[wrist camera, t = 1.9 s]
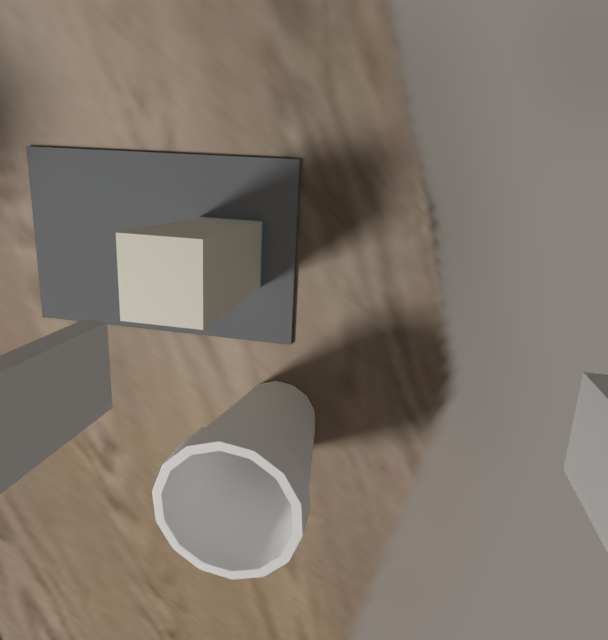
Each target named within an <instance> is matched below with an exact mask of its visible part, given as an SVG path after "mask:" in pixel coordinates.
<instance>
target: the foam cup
mask: <svg viewBox="0 0 608 640" xmlns="http://www.w3.org/2000/svg"><path fill="white" fill-rule="evenodd" d="M314 434H315V410H314V408H313V406H312V405H311V403H310V401H309V399H308V397H307V396H306V395H305V394H304V393H303V392H301V391H300V390H299V389H297V388H296V387H295V386H294V385H291V384H287V383H283V382H279V381H273V382H267V383H262V384H259V385H258V386H257V387H255V388H254V389H253V390H251V391H250V392H249V393H248V394H246V395H245V396H244V397H242V398H241V399H240V400H239V401H238V402H236V403H235V404H234V405H233V406H231V407H230V408H229V409H228V410H226V411H225V412H224V413H223V414H222V415H220V416H219V417H218V418H217V419H215V420H214V421H213V422H212V423H210V424H209V425H208V426H207V427H203V428H201V429H199V430H198V431H197V432H195V433H194V434H193V435H191V436H190V437H189V438H188V439H186V440H185V441H184V442H182V443H181V444H180V445H179V446H178V447H177V448H176V449H175V450H174V452H173V453H172V454H171V455H170V456H169V457H168V459H167V460H166V461H165V462H164V463H163V465H162V467H161V470H160V472H159V475H158V477H157V480H156V482H155V485H154V487H153V490H152V495H153V503H154V511H155V518H156V522H157V524H158V525H159V527H160V529H161V530H162V532H163V534H164V535H165V537H166V538H167V540H168V542H169V543H170V545H171V546H172V548H173V549H174V550H175V551H176V552H178V553H179V554H180V555H182V556H183V557H184V558H186V559H187V560H188V561H189V562H191V563H192V564H193V565H195V566H196V567H197V568H199V569H200V570H203V571H206V572H210V573H213V574H216V575H219V576H222V577H226V578H229V579H244V578H256V577H264V576H266V575H267V574H269V573H271V572H272V571H274V570H276V569H278V568H279V567H281V566H283V565H284V564H286V563H288V562H289V560H290V559H291V557H292V555H293V553H294V551H295V549H296V547H297V546H298V544H299V542H300V540H301V538H302V536H303V533H304V530H305V526H306V523H307V520H308V516H309V513H310V499H309V485H310V474H311V464H312V454H313V444H314Z"/></svg>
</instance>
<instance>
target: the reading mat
mask: <svg viewBox="0 0 608 640" xmlns="http://www.w3.org/2000/svg"><path fill="white" fill-rule="evenodd" d="M26 147H27V157H28V167H29V178H30V188H31V199H32V209H33V219H34V230H35V240H36V251H37V261H38V272H39V282H40V292H41V303H42V313H43V317H48V318H57V319H66V320H75V321H82V320H91V321H100V322H107V324H111V325H120V326H129V327H138V328H146V329H155V330H164V331H173V332H182V333H191V334H200V335H209V336H218V337H227V338H236V339H245V340H254V341H262V342H271V343H280V344H289V345H291V344H292V329H293V307H294V285H295V264H296V242H297V220H298V198H299V176H300V159H280V158H260V157H239V156H218V155H197V154H176V153H155V152H135V151H114V150H93V149H72V148H51V147H31V146H26ZM200 216H202V217H216V218H230V219H244V220H259V221H264V233H263V269H262V287H260V288H259V289H258V290H256V291H255V292H254V293H252V294H251V295H250V296H248V297H247V298H246V299H244V300H243V301H242V302H240V303H239V304H238V305H236V306H235V307H234V308H232V309H231V310H230V311H228V312H227V313H225V314H224V315H223V316H221V317H220V318H219V319H217V320H216V321H215V322H213V323H212V324H211V325H209V326H208V327H207V328H205V329H204V330H198V329H189V328H180V327H171V326H162V325H153V324H144V323H135V322H126V321H120V307H119V288H118V268H117V249H116V232H121V231H126V230H132V229H137V228H142V227H147V226H153V225H158V224H163V223H169V222H174V221H179V220H184V219H190V218H195V217H200Z"/></svg>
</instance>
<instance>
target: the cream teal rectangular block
mask: <svg viewBox="0 0 608 640" xmlns="http://www.w3.org/2000/svg"><path fill="white" fill-rule="evenodd" d="M263 233H264V221H259V220H244V219H230V218H216V217H202V216H200V217H195V218H190V219H184V220H179V221H174V222H169V223H163V224H158V225H153V226H147V227H142V228H137V229H132V230H126V231H121V232H116V249H117V268H118V288H119V307H120V321H126V322H135V323H144V324H153V325H162V326H171V327H180V328H189V329H198V330H204V329H205V328H207V327H208V326H209V325H211V324H212V323H213V322H215V321H216V320H217V319H219V318H220V317H221V316H223V315H224V314H225V313H227V312H228V311H230V310H231V309H232V308H234V307H235V306H236V305H238V304H239V303H240V302H242V301H243V300H244V299H246V298H247V297H248V296H250V295H251V294H252V293H254V292H255V291H256V290H258V289H259V288H260V287H262V269H263Z"/></svg>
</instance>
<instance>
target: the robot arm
mask: <svg viewBox="0 0 608 640" xmlns="http://www.w3.org/2000/svg"><path fill="white" fill-rule="evenodd" d="M111 408H112V393H111V378H110V362H109V347H108V332H107V322H100V321H91V320H82V321H79V322H77V323H75V324H72V325H70V326H68V327H65V328H63V329H61V330H59V331H56V332H54V333H52V334H49V335H47V336H45V337H42V338H40V339H38V340H35V341H33V342H31V343H29V344H26V345H24V346H22V347H19V348H17V349H15V350H12V351H10V352H8V353H5V354H3V355H1V356H0V494H1V493H2V492H3V491H5V490H6V489H7V488H9V487H10V486H11V485H13V484H14V483H15V482H16V481H18V480H19V479H20V478H22V477H23V476H24V475H26V474H27V473H28V472H29V471H31V470H32V469H33V468H35V467H36V466H37V465H39V464H40V463H41V462H42V461H44V460H45V459H46V458H48V457H49V456H50V455H51V454H53V453H54V452H55V451H57V450H58V449H59V448H61V447H62V446H63V445H64V444H66V443H67V442H68V441H70V440H71V439H72V438H74V437H75V436H76V435H77V434H79V433H80V432H81V431H83V430H84V429H85V428H87V427H88V426H89V425H90V424H92V423H93V422H94V421H96V420H97V419H98V418H100V417H101V416H102V415H103V414H105V413H106V412H107V411H109V410H110V409H111ZM563 470H564V471H565V473H566V475H567V477H568V479H569V481H570V483H571V484H572V487H573V488H574V490H575V492H576V494H577V496H578V498H579V500H580V502H581V503H582V505H583V507H584V509H585V511H586V513H587V515H588V517H589V519H590V521H591V523H592V524H593V526H594V528H595V530H596V532H597V534H598V536H599V538H600V540H601V541H602V543H603V545H604V547H605V549H606V551H607V553H608V375H604V374H594V373H586V372H584V373H583V378H582V383H581V388H580V392H579V397H578V402H577V407H576V412H575V417H574V422H573V426H572V431H571V435H570V440H569V445H568V450H567V455H566V459H565V465H564V469H563Z"/></svg>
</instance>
